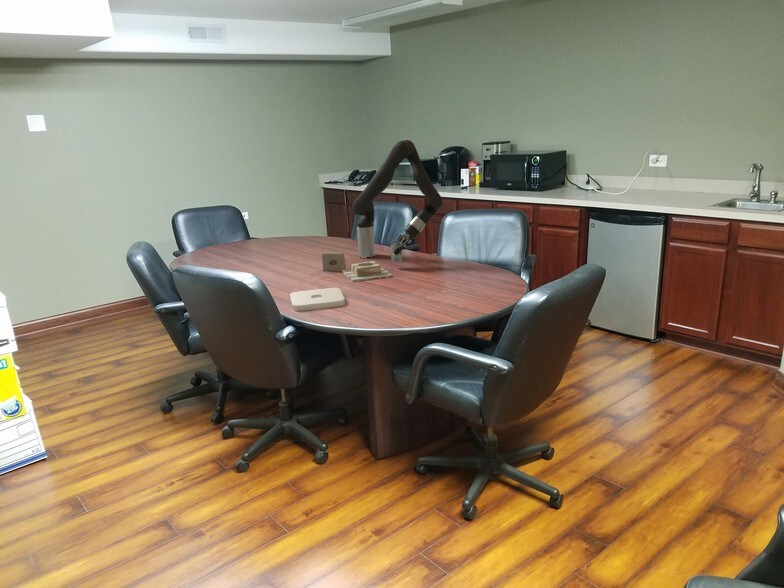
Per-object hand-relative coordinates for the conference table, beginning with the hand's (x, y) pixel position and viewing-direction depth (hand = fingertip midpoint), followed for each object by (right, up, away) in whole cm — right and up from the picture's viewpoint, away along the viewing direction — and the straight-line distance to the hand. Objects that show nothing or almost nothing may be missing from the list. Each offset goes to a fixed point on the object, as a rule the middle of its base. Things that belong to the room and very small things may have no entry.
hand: (393, 253), depth 296 cm
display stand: (-14, -11, -6) cm, 19 cm away
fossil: (-31, -9, +5) cm, 33 cm away
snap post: (+2, -4, +2) cm, 4 cm away
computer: (-33, -25, -47) cm, 62 cm away
